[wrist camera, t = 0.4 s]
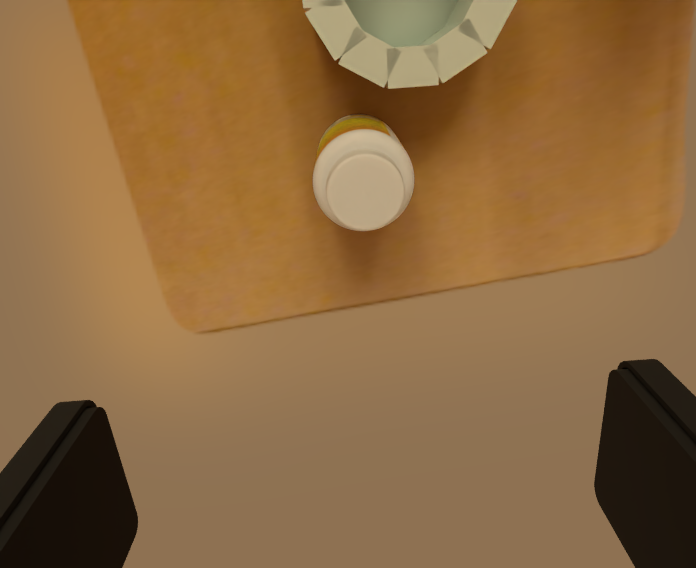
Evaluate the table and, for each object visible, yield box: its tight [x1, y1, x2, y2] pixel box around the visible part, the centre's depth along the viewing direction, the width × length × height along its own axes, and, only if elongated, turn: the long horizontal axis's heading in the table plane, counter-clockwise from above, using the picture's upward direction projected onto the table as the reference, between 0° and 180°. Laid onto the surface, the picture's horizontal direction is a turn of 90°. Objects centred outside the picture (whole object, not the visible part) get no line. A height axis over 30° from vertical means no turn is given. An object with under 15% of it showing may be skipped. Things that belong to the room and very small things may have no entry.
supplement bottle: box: [313, 114, 415, 231], centre depth 32 cm, size 6×6×10 cm
